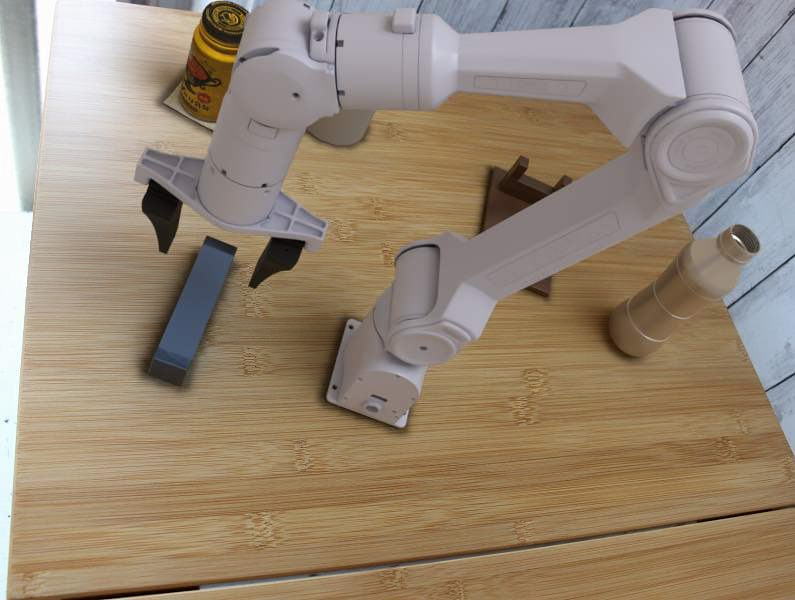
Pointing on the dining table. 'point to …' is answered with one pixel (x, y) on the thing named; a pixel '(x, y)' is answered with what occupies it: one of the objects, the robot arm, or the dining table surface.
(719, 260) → the plastic bottle
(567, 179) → the holder
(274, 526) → the dining table surface
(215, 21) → the condiment
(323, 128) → the cup
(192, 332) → the handle
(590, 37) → the robot arm
